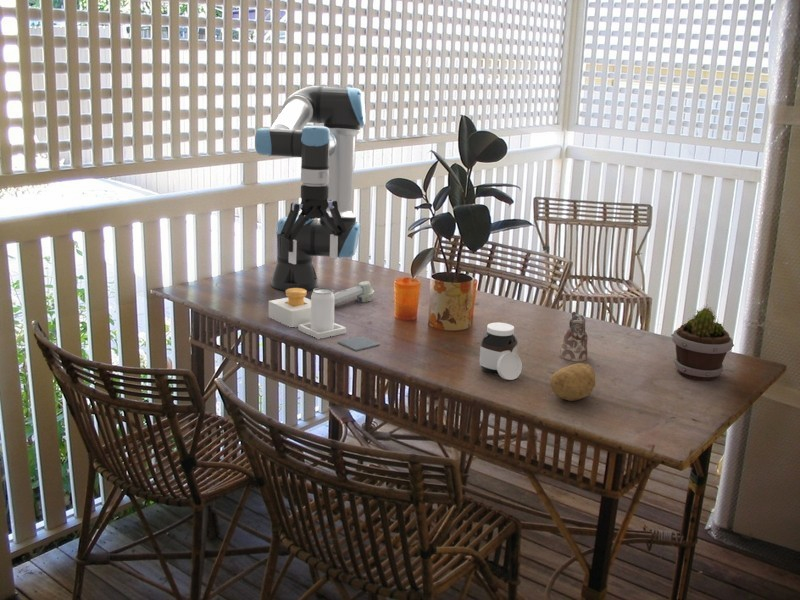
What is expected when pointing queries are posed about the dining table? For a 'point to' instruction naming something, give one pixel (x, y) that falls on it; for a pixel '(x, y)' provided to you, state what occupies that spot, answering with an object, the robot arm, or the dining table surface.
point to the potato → (573, 381)
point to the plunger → (296, 296)
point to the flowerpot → (701, 346)
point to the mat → (358, 343)
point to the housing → (299, 317)
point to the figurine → (575, 340)
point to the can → (322, 310)
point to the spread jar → (500, 351)
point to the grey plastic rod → (355, 293)
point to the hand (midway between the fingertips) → (313, 260)
